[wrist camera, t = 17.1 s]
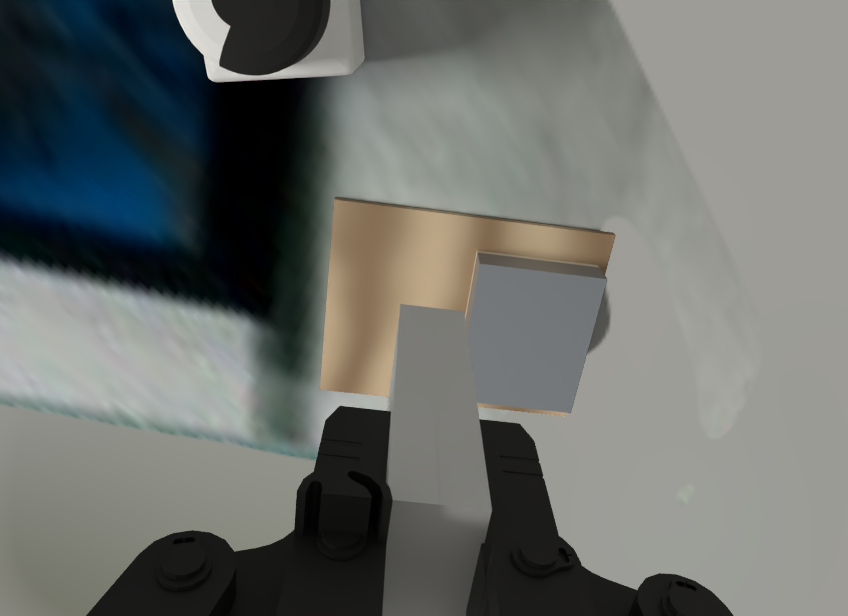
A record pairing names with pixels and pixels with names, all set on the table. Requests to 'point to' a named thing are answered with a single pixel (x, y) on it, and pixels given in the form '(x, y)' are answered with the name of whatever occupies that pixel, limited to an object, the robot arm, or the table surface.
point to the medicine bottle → (274, 37)
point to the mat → (418, 278)
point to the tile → (530, 328)
